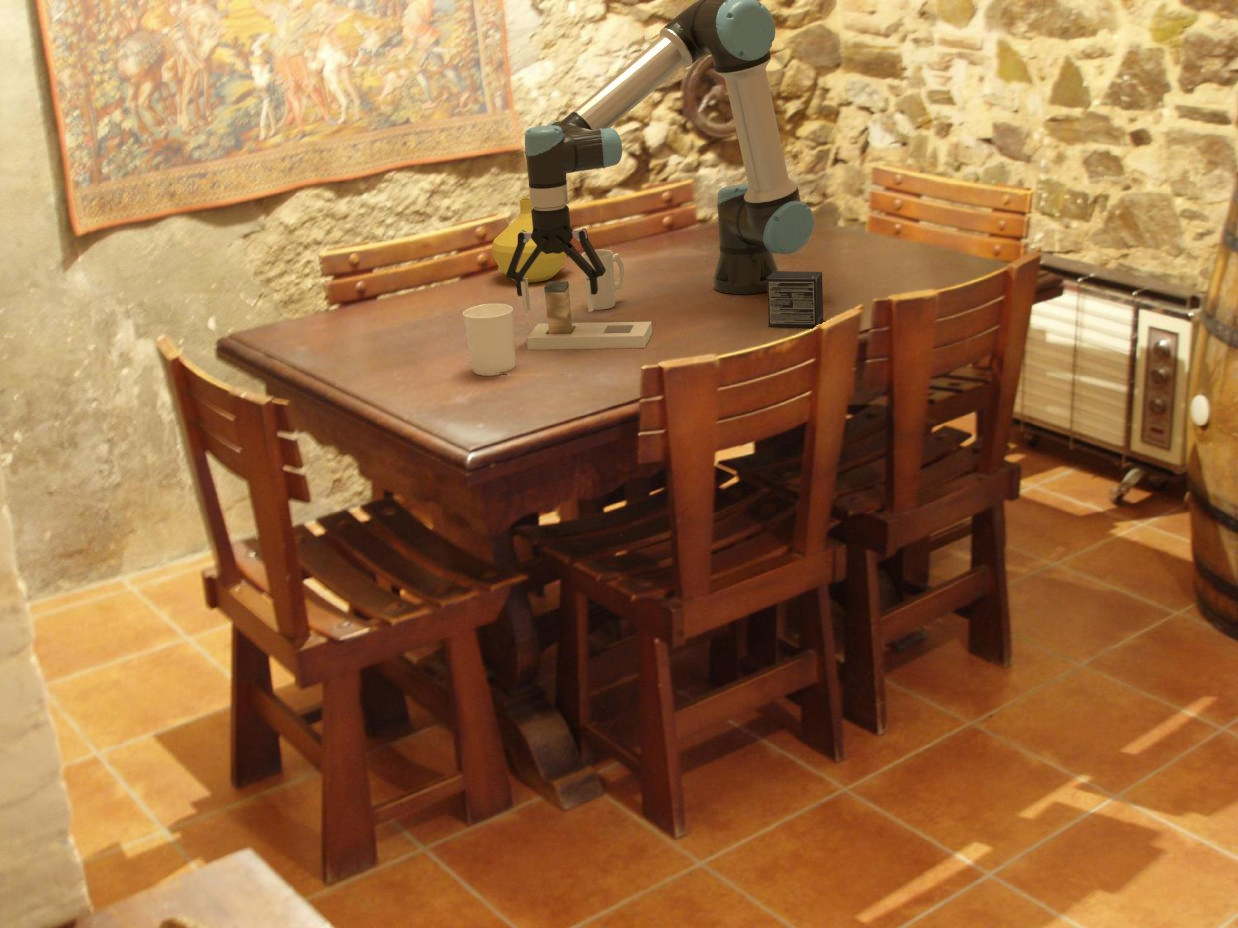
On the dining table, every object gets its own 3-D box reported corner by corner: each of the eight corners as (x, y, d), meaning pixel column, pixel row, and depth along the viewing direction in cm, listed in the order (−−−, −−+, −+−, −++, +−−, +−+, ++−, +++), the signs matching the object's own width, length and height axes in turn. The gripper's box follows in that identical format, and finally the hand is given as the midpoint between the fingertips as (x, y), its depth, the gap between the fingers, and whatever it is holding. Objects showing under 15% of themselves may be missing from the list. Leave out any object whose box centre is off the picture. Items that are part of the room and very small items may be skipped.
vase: (558, 264, 356) (552, 188, 349) (580, 280, 340) (573, 200, 332) (487, 275, 351) (479, 198, 344) (506, 292, 335) (497, 211, 327)
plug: (573, 338, 294) (568, 281, 289) (569, 344, 290) (564, 286, 286) (554, 338, 295) (548, 281, 290) (549, 344, 291) (544, 287, 286)
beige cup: (469, 364, 284) (462, 306, 280) (518, 359, 285) (512, 301, 281) (469, 379, 275) (462, 320, 271) (519, 374, 276) (513, 315, 271)
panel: (652, 335, 294) (651, 321, 292) (644, 350, 285) (643, 336, 283) (539, 337, 298) (538, 323, 297) (528, 352, 289) (526, 338, 288)
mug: (597, 312, 313) (592, 258, 308) (580, 306, 318) (575, 254, 314) (634, 302, 318) (630, 249, 314) (617, 297, 323) (613, 245, 319)
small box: (824, 319, 296) (823, 270, 292) (818, 328, 290) (817, 278, 286) (774, 318, 299) (773, 269, 295) (767, 327, 293) (765, 277, 289)
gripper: (614, 200, 283) (622, 304, 291) (494, 204, 288) (504, 306, 296) (607, 208, 276) (615, 314, 284) (484, 212, 281) (495, 316, 289)
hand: (559, 310), depth 290 cm, fingers open, 13 cm apart
